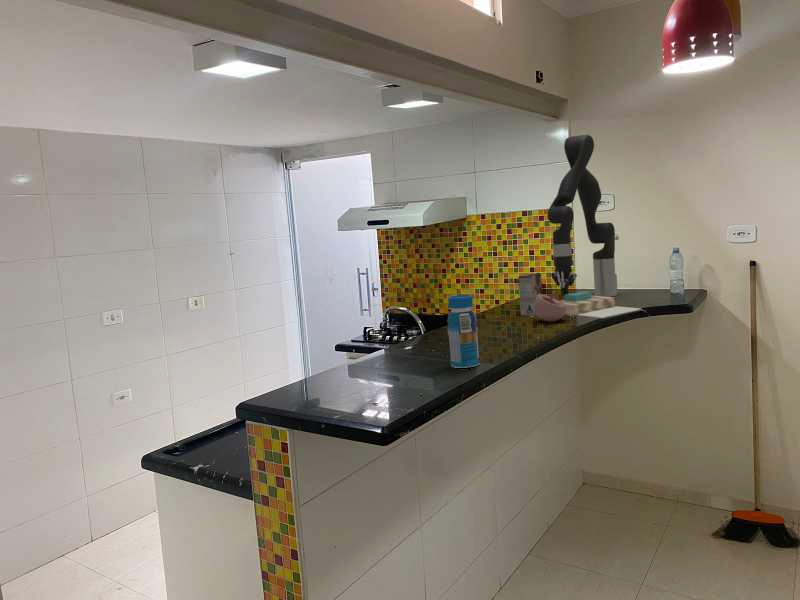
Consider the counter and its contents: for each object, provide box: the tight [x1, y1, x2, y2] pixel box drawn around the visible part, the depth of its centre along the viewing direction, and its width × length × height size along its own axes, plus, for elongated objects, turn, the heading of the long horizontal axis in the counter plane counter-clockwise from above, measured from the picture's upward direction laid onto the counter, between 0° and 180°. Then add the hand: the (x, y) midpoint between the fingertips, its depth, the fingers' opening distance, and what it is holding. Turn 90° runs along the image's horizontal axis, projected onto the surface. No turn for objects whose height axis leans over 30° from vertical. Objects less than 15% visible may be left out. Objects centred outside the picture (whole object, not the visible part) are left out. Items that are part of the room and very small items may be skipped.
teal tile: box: [563, 291, 592, 302], centre depth 249 cm, size 9×6×2 cm, turn 120°
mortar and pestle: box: [534, 290, 567, 323], centre depth 228 cm, size 12×12×12 cm
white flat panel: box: [577, 305, 642, 319], centre depth 236 cm, size 22×12×1 cm, turn 120°
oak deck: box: [559, 295, 616, 316], centre depth 248 cm, size 22×14×4 cm, turn 120°
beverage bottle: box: [446, 294, 481, 369], centre depth 171 cm, size 8×8×20 cm
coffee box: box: [517, 272, 543, 317], centre depth 248 cm, size 9×6×16 cm
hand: (564, 296), depth 256 cm, fingers closed
